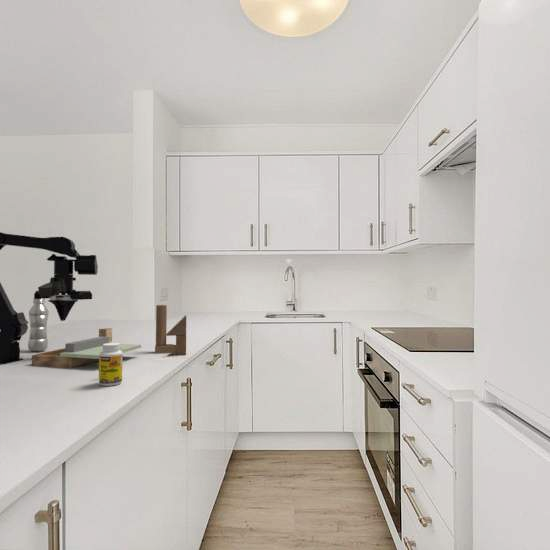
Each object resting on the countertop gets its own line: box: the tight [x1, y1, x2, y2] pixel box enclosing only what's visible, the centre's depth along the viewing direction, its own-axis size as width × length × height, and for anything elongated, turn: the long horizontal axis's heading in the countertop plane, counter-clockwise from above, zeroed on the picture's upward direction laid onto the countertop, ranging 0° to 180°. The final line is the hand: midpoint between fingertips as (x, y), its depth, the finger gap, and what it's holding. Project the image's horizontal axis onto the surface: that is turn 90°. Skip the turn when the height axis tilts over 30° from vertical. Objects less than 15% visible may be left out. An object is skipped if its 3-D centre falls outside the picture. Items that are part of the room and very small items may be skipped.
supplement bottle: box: [98, 342, 124, 387], centre depth 99 cm, size 6×6×10 cm
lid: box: [60, 336, 142, 359], centre depth 122 cm, size 14×20×4 cm
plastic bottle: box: [27, 297, 49, 353], centre depth 145 cm, size 6×7×20 cm
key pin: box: [98, 327, 113, 343], centre depth 142 cm, size 3×3×9 cm
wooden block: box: [154, 304, 187, 357], centre depth 139 cm, size 4×11×18 cm, turn 104°
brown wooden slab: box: [31, 348, 99, 369], centre depth 124 cm, size 14×20×4 cm
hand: (62, 320), depth 130 cm, fingers closed
